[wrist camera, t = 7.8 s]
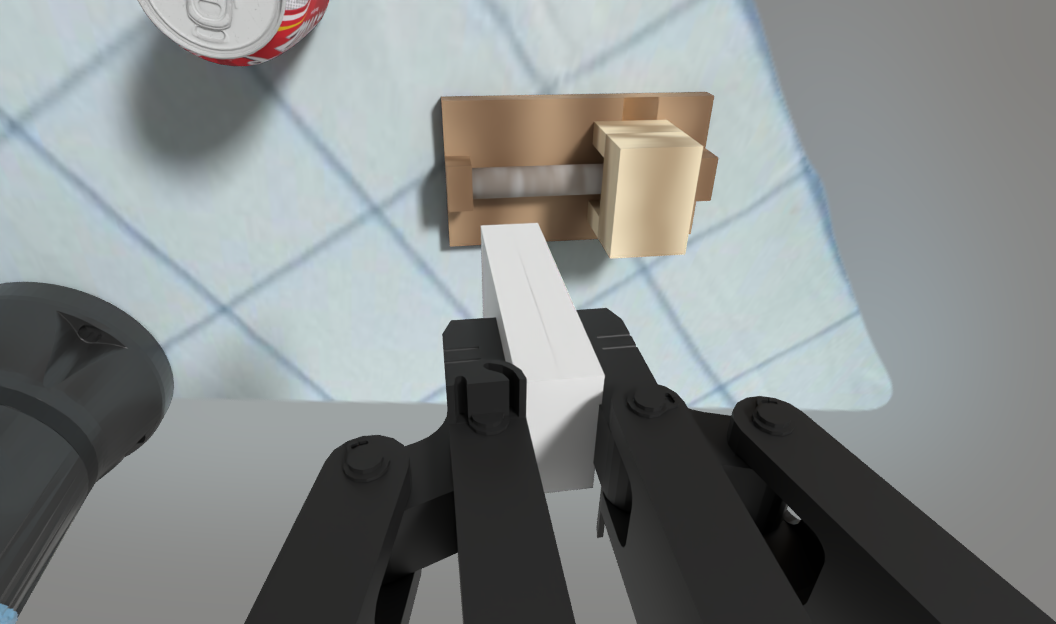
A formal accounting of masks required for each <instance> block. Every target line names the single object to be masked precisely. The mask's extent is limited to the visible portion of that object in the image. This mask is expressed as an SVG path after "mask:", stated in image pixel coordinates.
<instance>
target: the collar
mask: <svg viewBox="0 0 1056 624" xmlns="http://www.w3.org/2000/svg"><path fill="white" fill-rule="evenodd" d="M593 145H594V147H595V148H596V149H597V150H598V151H599V152H600V154H601V155H602V156H603V157H604V165H603V177H602V189H601V200H590V201H588V213H587V221H588V223H589V224H590V226H591V228H592V229H593V231H594V233H595V234H596V236H597V238H598V239H599V241H600V243H601V244H602V246H603V248H604V249H605V251H606V253H607V254H608V256H609V258H610V259H611V258H629V257H647V256H665V255H682V254H685V252H686V246H687V240H688V234H689V228H690V222H691V217H692V211H693V205H694V199H695V193H696V187H697V181H698V175H699V169H700V163H701V158H702V152H703V146H702V145H701V144H699V143H698V142H697V141H695V140H694V139H693V138H691V137H690V136H688V135H687V134H686V133H684V132H683V131H681V130H680V129H679V128H677V127H676V126H675V125H673V124H672V123H670V122H669V121H668V120H635V121H594V130H593Z"/></svg>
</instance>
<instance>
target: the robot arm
mask: <svg viewBox="0 0 1056 624" xmlns="http://www.w3.org/2000/svg"><path fill="white" fill-rule="evenodd" d="M481 259H482V298H483V318H479V319H465V320H451V321H450V323H449V324H448V326H447V328H446V329H445V331H444V332H443V334H442V336H443V350H444V365H445V379H446V393H447V407H448V411H447V417H446V419H445V421H444V423H443V424H442V426H441V427H440V428H439V429H438V430H437V431H436V432H434V433H433V434H432V435H430V436H429V437H427V438H425V439H423V440H421V441H418V442H416V443H413V444H410V445H407V446H405V447H404V445H403V444H401V443H399V442H398V441H397V440H395V439H394V438H390V437H386V436H381V435H372V436H362V437H359V438H356V439H353V440H350V441H347V442H345V443H344V444H343V445H341V446H339V447H338V448H336V449H335V450H334V451H333V452H332V453H331V455H330V456H329V457H328V458H327V460H326V461H325V463H324V465H323V467H322V469H321V471H320V473H319V475H318V477H317V479H316V481H315V483H314V485H313V487H312V489H311V491H310V493H309V495H308V497H307V499H306V501H305V503H304V505H303V507H302V509H301V511H300V513H299V515H298V517H297V519H296V521H295V523H294V525H293V527H292V529H291V531H290V533H289V535H288V537H287V539H286V541H285V543H284V545H283V547H282V549H281V551H280V553H279V555H278V557H277V559H276V561H275V563H274V565H273V567H272V569H271V571H270V573H269V575H268V577H267V579H266V581H265V583H264V585H263V587H262V589H261V591H260V593H259V595H258V597H257V599H256V601H255V603H254V605H253V607H252V609H251V611H250V613H249V615H248V617H247V619H246V621H245V623H244V624H408V623H409V620H410V616H411V612H412V608H413V604H414V600H415V596H416V592H417V588H418V584H419V581H420V577H421V569H422V568H424V567H426V566H429V565H431V564H433V563H435V562H438V561H440V560H442V559H444V558H447V557H449V556H451V555H453V554H456V553H458V562H459V574H460V589H461V602H462V615H463V624H576V623H575V619H574V615H573V611H572V606H571V602H570V598H569V594H568V590H567V586H566V581H565V577H564V573H563V569H562V565H561V561H560V557H559V552H558V548H557V544H556V540H555V535H554V532H553V527H552V523H551V519H550V515H549V510H548V506H547V503H546V498H545V494H544V493H551V492H560V491H568V490H578V489H586V488H593V482H594V471H595V469H596V472H597V475H598V478H599V481H600V484H601V494H600V502H599V511H598V519H597V520H598V521H597V538H599V537H603V533H604V525H605V526H606V529H607V532H608V535H609V538H610V541H611V544H612V547H613V550H614V554H615V557H616V560H617V563H618V566H619V569H620V572H621V575H622V578H623V581H624V585H625V588H626V591H627V594H628V597H629V600H630V603H631V606H632V609H633V612H634V615H635V619H636V621H637V624H1056V622H1055V621H1054V620H1053V619H1051V618H1050V617H1049V616H1048V615H1047V614H1045V613H1044V612H1043V611H1042V610H1041V609H1039V608H1038V607H1037V606H1036V605H1035V604H1033V603H1032V602H1031V601H1030V600H1029V599H1027V598H1026V597H1025V596H1024V595H1022V594H1021V593H1020V592H1019V591H1018V590H1016V589H1015V588H1014V587H1013V586H1012V585H1011V584H1009V583H1008V582H1007V581H1006V580H1005V579H1003V578H1002V577H1001V576H1000V575H998V574H997V573H996V572H995V571H994V570H992V569H991V568H990V567H989V566H988V565H986V564H985V563H984V562H983V561H982V560H980V559H979V558H978V557H977V556H976V555H974V554H973V553H972V552H971V551H969V550H968V549H967V548H966V547H965V546H964V545H962V544H961V543H960V542H959V541H957V540H956V539H955V538H954V537H953V536H951V535H950V534H949V533H948V532H947V531H945V530H944V529H943V528H942V527H941V526H939V525H938V524H937V523H936V522H935V521H933V520H932V519H931V518H930V517H929V516H927V515H926V514H925V513H924V512H922V511H921V510H920V509H919V508H918V507H916V506H915V505H914V504H913V503H912V502H911V501H909V500H908V499H907V498H906V497H904V496H903V495H902V494H901V493H900V492H898V491H897V490H896V489H895V488H894V487H892V486H891V485H890V484H889V483H888V482H886V481H885V480H884V479H883V478H882V477H880V476H879V475H878V474H877V473H875V472H874V471H873V470H872V469H870V468H869V467H868V466H867V465H866V464H865V463H864V462H862V461H861V460H860V459H859V458H857V457H856V456H855V455H854V454H853V453H851V452H850V451H849V450H848V449H846V448H845V447H844V446H843V445H842V444H841V443H839V442H838V441H837V440H836V439H835V438H833V437H832V436H831V435H830V434H829V433H827V432H826V431H825V430H824V429H823V428H821V427H820V426H819V425H817V424H816V423H815V422H814V421H813V420H812V419H810V418H809V417H808V416H807V415H806V414H804V413H803V412H802V411H800V410H799V409H797V408H796V407H794V406H793V405H791V404H789V403H787V402H784V401H781V400H778V399H776V398H770V397H762V396H757V397H749V398H745V399H743V400H741V401H740V402H738V403H737V404H736V406H735V408H734V409H733V412H732V415H731V416H728V415H720V414H714V413H707V412H701V411H696V410H692V409H689V408H688V407H687V406H686V404H685V402H684V401H683V400H682V399H681V398H680V397H679V395H678V394H677V393H676V392H674V391H672V390H670V389H669V388H667V387H665V386H662V385H658V384H657V382H656V380H655V378H654V377H653V375H652V373H651V371H650V369H649V368H648V366H647V364H646V362H645V360H644V358H643V357H642V355H641V353H640V351H639V349H638V348H637V347H636V344H635V342H634V340H633V338H632V337H631V336H630V333H629V331H628V329H627V328H626V326H625V324H624V322H623V320H622V319H621V318H619V317H618V316H617V315H615V314H614V313H613V312H611V311H610V310H609V309H607V308H599V309H585V310H576V309H575V306H574V304H573V302H572V300H571V297H570V295H569V293H568V290H567V288H566V286H565V284H564V281H563V279H562V277H561V274H560V272H559V270H558V268H557V265H556V263H555V261H554V259H553V256H552V254H551V252H550V249H549V247H548V245H547V243H546V240H545V238H544V236H543V234H542V231H541V229H540V227H539V224H538V223H524V224H503V225H482V226H481ZM173 389H174V381H173V374H172V370H171V366H170V363H169V361H168V359H167V357H166V355H165V353H164V351H163V349H162V348H161V346H160V345H159V344H158V342H157V341H156V340H155V338H154V337H153V336H152V335H151V334H150V333H149V332H148V331H147V330H146V329H145V328H144V327H143V326H142V325H141V324H140V323H139V322H137V321H136V320H135V319H134V318H132V317H131V316H130V315H128V314H127V313H125V312H124V311H122V310H121V309H119V308H117V307H116V306H114V305H112V304H110V303H108V302H106V301H104V300H102V299H100V298H97V297H95V296H93V295H90V294H87V293H85V292H82V291H78V290H75V289H72V288H68V287H64V286H59V285H53V284H47V283H37V282H13V283H3V284H0V624H15V623H16V621H17V620H18V619H17V618H18V616H19V614H20V613H21V611H22V609H23V607H24V606H25V604H26V602H27V600H28V599H29V597H30V595H31V593H32V591H33V590H34V588H35V586H36V585H37V583H38V581H39V579H40V577H41V576H42V574H43V572H44V571H45V569H46V567H47V565H48V564H49V562H50V560H51V559H52V557H53V555H54V553H55V551H56V550H57V548H58V546H59V545H60V543H61V541H62V539H63V538H64V536H65V534H66V532H67V531H68V529H69V527H70V525H71V524H72V522H73V520H74V518H75V516H76V515H77V513H78V511H79V510H80V508H81V506H82V504H83V503H84V500H85V499H86V497H87V496H88V494H89V492H90V490H91V489H92V487H93V486H94V484H95V483H96V482H97V481H98V480H99V479H101V478H102V477H103V476H104V475H106V474H107V473H108V472H109V471H111V470H112V469H113V468H114V467H115V466H116V465H118V463H120V462H121V461H122V460H123V458H124V457H126V456H128V455H130V454H131V453H132V452H134V451H135V450H137V449H138V448H139V447H140V446H142V445H143V444H144V443H145V442H146V441H147V440H148V439H149V438H150V437H151V436H152V434H153V433H154V432H155V431H156V429H157V428H158V426H159V424H160V423H161V421H162V419H163V417H164V415H165V413H166V412H167V410H168V408H169V405H170V403H171V400H172V396H173ZM788 506H789V507H790V508H791V509H792V510H793V511H794V512H795V513H796V514H797V515H798V516H799V517H800V518H801V520H799V519H797V518H795V517H794V516H793V515H791V514H790V512H789V511H788V510H787V507H788Z"/></svg>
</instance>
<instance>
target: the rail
mask: <svg viewBox="0 0 1056 624" xmlns="http://www.w3.org/2000/svg"><path fill="white" fill-rule="evenodd" d="M713 100H714V96H713V95H712V94H710V93H708V92H682V93H624V94H567V95H509V96H451V97H441V106H442V123H443V140H444V157H445V174H446V191H447V209H448V226H449V241H450V246H469V245H481V226H482V225H503V224H524V223H538V224H539V227H540V229H541V231H542V234H543V236H544V238H545V240H546V242H547V241H566V240H585V239H598V238H597V236H596V234H595V233H594V231H593V229H592V228H591V226H590V224H589V223H588V221H587V213H588V201H590V200H601V189H602V177H603V165H604V157H603V156H602V155H601V154H600V152H599V151H598V150H597V149H596V148H595V147H594V145H593V130H594V121H635V120H668V121H669V122H670V123H672V124H673V125H675V126H676V127H677V128H679V129H680V130H681V131H683V132H684V133H686V134H687V135H688V136H690V137H691V138H693V139H694V140H695V141H697V142H698V143H699V144H701V145H702V146H703V152H702V158H701V163H700V169H699V175H698V181H697V187H696V193H695V199H694V205H693V211H692V217H691V222H690V228H689V234H691V228H692V223H693V217H694V211H695V205H696V201H711V196H712V190H713V185H714V180H715V174H716V169H717V163H718V157H717V156H715V155H714V154H713V153H711V152H710V151H708V150H707V149H706V148H705V147H706V141H707V135H708V129H709V123H710V117H711V112H712V106H713Z"/></svg>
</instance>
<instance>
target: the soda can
mask: <svg viewBox="0 0 1056 624" xmlns="http://www.w3.org/2000/svg"><path fill="white" fill-rule="evenodd" d="M138 2H139V4H140V5H141V7H142V9H143V10H144V12H145V13H146V15H147V16H148V17H149V18H150V20H151V21H152V22H153V24H154V25H155V26H156V27H157V28H158V29H159V30H160V31H161V32H162V33H163V34H165V35H166V36H167V37H169V38H170V39H171V40H172V41H174V42H175V43H177V44H178V45H179V46H181V47H182V48H184V49H185V50H187V51H189V52H190V53H192V54H194V55H196V56H198V57H200V58H203V59H205V60H207V61H211V62H214V63H218V64H222V65H230V66H250V65H256V64H260V63H263V62H266V61H268V60H271V59H273V58H275V57H277V56H279V55H280V54H282V53H284V52H285V51H287V50H289V49H290V48H291V47H293V46H294V45H295V44H296V43H298V42H299V41H300V40H301V39H302V38H304V37H305V36H306V35H307V34H308V33H309V32H310V31H311V30H312V29H313V28H314V27H315V26H316V25H317V24H318V23H319V21H320V20H321V19H322V17H323V15H324V13H325V11H326V9H327V6H328V3H329V0H138Z"/></svg>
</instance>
